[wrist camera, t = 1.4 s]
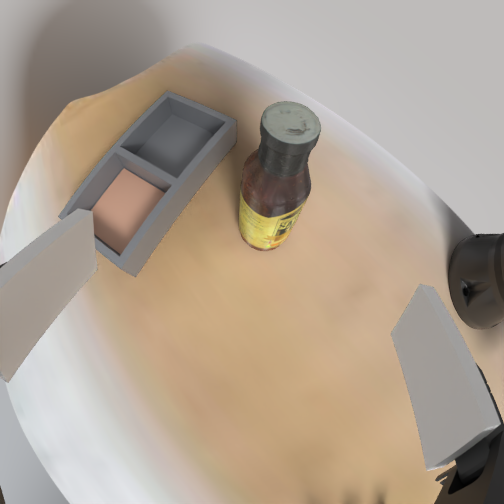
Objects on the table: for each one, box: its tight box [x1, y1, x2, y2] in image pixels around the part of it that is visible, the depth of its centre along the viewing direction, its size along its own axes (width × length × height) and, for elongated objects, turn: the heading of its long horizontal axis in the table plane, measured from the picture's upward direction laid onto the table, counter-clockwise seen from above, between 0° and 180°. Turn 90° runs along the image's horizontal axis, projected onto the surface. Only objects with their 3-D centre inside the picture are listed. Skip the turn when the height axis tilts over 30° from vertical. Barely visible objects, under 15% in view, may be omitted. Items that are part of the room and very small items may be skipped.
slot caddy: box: [58, 91, 237, 277], centre depth 35 cm, size 12×23×5 cm, turn 148°
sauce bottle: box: [239, 101, 321, 251], centre depth 27 cm, size 6×6×20 cm
